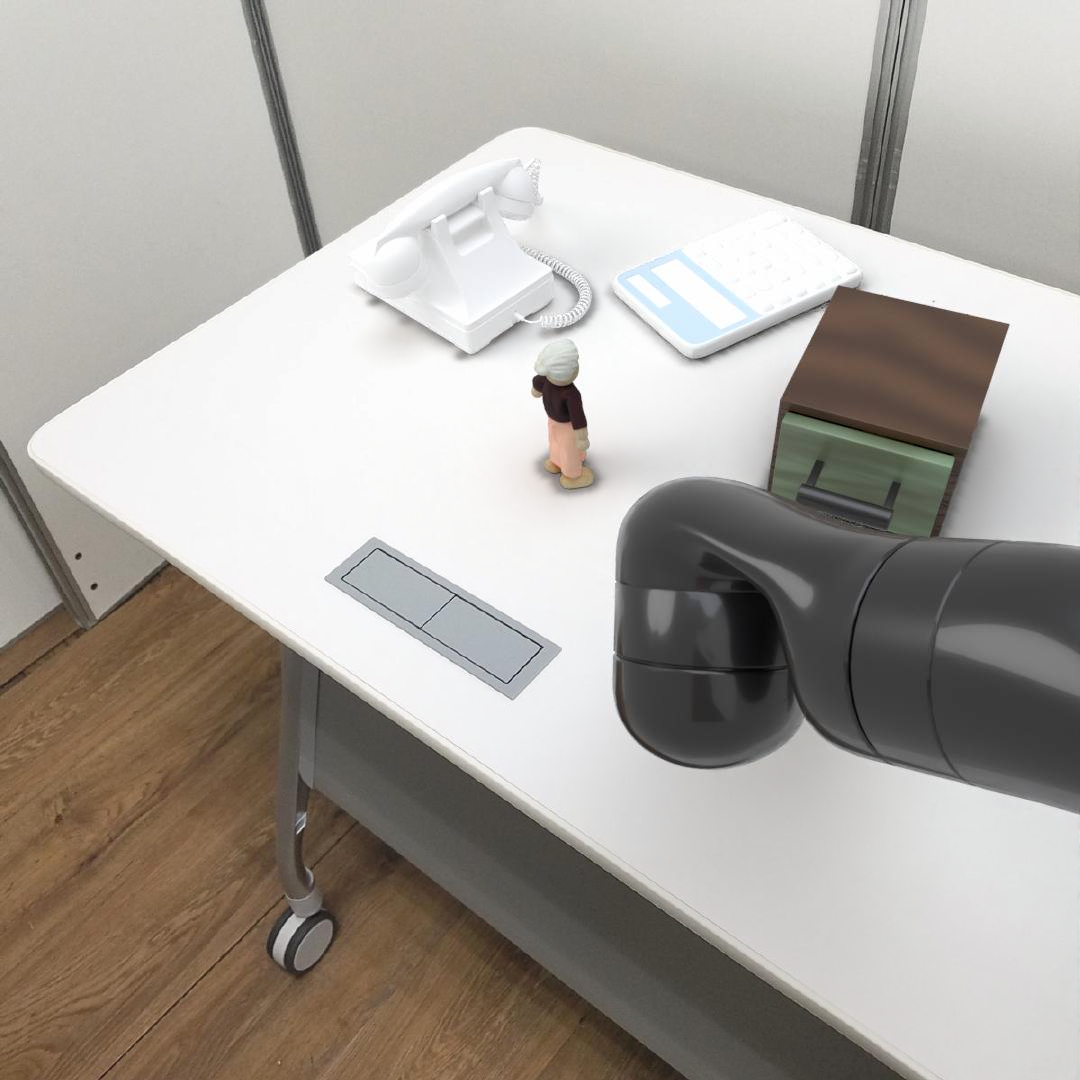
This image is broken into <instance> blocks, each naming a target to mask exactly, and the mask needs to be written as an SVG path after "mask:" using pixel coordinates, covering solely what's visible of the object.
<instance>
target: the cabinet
mask: <svg viewBox="0 0 1080 1080" xmlns="http://www.w3.org/2000/svg"><path fill="white" fill-rule="evenodd" d="M1009 328H1010V323H1007V322H1003V321H998V320H994V319H990V318H986V317H981V316H976V315H973V314H967V313H963V312H958V311H954V310H950V309H945V308H940V307H937V306H933V305H929V304H924V303H919V302H915V301H911V300H906V299H901V298H897V297H892V296H888V295H884V294H880V293H875V292H870V291H867V290H861V289H858V288H854V289H853V288H849V287H844V286H840V285H838V286H837V288H836V290H835V292H834V294H833V296H832V298H831V300H829V301H828V304H827V306H826V308H825V310H824V312H823V314H822V315H821V318H820V320H819V322H818V323H817V326H816V328H815V330H814V331H813V334H812V336H811V338H810V340H809V342H808V344H807V345H806V348H805V350H804V352H803V353H802V356H801V358H800V359H799V361H798V363H797V366H796V368H795V369H794V371H793V373H792V376H791V377H790V379H789V381H788V383H787V385H786V387H785V389H784V391H783V393H782V395H781V397H780V399H779V405H778V410H777V411H778V413H777V418H776V425H775V433H774V439H773V440H774V441H773V446H772V453H771V460H770V466H769V472H768V473H769V474H768V479H767V488H766V490H768V491H771V490H772V483H773V476H774V470H775V463H776V457H777V450H778V443H779V437H780V430H781V424H782V420H783V418H784V416H785V414H786V412H790V413H794V414H798V415H800V413H801V414H805V415H809V416H813V417H816V418H820V419H824V420H827V421H831V422H835V423H839V424H842V425H846V426H850V427H854V428H857V429H861V430H865V431H868V432H872V433H876V434H880V435H883V436H887V437H891V438H894V439H898V440H902V441H906V442H909V443H913V444H917V445H920V446H924V447H928V448H932V449H935V450H939V451H943V452H947V453H948V455H950V456H954V457H955V461H954V464H953V467H952V470H951V473H950V476H949V479H948V482H947V485H946V488H945V492H944V495H943V498H942V501H941V504H940V507H939V510H938V513H937V516H936V519H935V522H934V525H933V528H932V532H931V535H930V537H940V535H941V532H942V529H943V526H944V523H945V519H946V516H947V514H948V511H949V508H950V505H951V502H952V499H953V496H954V493H955V491H956V488H957V484H958V482H959V481H958V480H959V478H960V476H961V472H962V469H963V466H964V463H965V460H966V457H967V453H968V451H969V448H970V445H971V442H972V439H973V436H974V433H975V431H976V430H975V429H976V427H977V423H978V422H979V418H980V414H981V413H982V409H983V406H984V403H985V399H986V398H987V394H988V391H989V388H990V386H991V382H992V379H993V376H994V373H995V370H996V367H997V364H998V361H999V358H1000V354H1001V352H1002V349H1003V346H1004V343H1005V340H1006V336H1007V334H1008V331H1009Z"/></svg>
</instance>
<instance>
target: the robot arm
mask: <svg viewBox="0 0 1080 1080" xmlns="http://www.w3.org/2000/svg"><path fill="white" fill-rule="evenodd" d="M614 565H615V571H614V572H615V573H614V577H615V578H614V580H615V583H614V606H613V607H614V614H613V647H612V648H613V649H612V650H613V652H614V653H613V654H612V672H611V675H612V678H611V685H612V688H611V689H612V697H613V703H614V707H615V710H616V711H615V712H616V714H617V716H618V719H619V720H620V722H621V724H622V726H623V727H624V729H625V731H626V732H627V733H628V735H629V736H630V737H631V738H632V739H633V740H634V741H635V742H636V743H637V744H638V746H639V747H641V748H642V749H643V750H645V751H646V752H648V753H649V754H650V755H653V757H654V756H655V757H656V758H657V759H659V760H663V761H664V762H667V763H669V764H672V765H674V766H678V767H682V768H686V769H692V770H703V771H718V770H719V771H720V770H728V769H735V768H738V767H742V766H747V765H750V764H752V763H756V762H757V761H760V760H763V759H764V758H766V757H769V756H770V755H772V754H773V753H775V752H777V751H778V750H779V749H781V748H782V747H783V746H784V745H786V744H787V743H788V742H789V741H790V740H791V739H792V738H793V737H794V736H795V735H796V733H797V732H798V731H799V729H800V728H801V726H802V724H803V723H804V720H805V719H806V721H807V723H808V724H809V725H810V727H811V728H812V729H813V730H814V732H816V734H817V735H818V736H819V737H821V738H822V739H823V740H824V741H825V742H827V743H828V744H830V745H831V746H833V747H835V748H836V749H839V750H841V751H843V752H846V753H848V754H850V755H853V756H855V757H858V758H862V759H865V760H868V761H873V762H877V763H881V764H885V765H889V766H893V767H897V768H901V769H905V770H909V771H912V772H917V773H921V774H924V775H928V776H932V777H936V778H940V779H944V780H948V781H951V782H955V783H960V784H963V785H967V786H970V787H975V788H979V789H982V790H986V791H990V792H992V793H993V792H994V793H998V794H1002V795H1005V796H1010V797H1014V798H1017V799H1022V800H1026V801H1030V802H1035V803H1038V804H1043V805H1046V806H1048V807H1052V808H1055V809H1059V810H1063V811H1066V812H1069V813H1072V814H1076V815H1079V816H1080V545H1074V544H1073V545H1072V544H1064V543H1057V542H1046V541H1045V542H1044V541H1029V540H1011V539H992V538H970V537H969V538H967V537H966V538H965V537H951V536H950V537H949V536H945V537H944V536H939V537H927V536H912V535H902V534H896V533H893V532H887V531H882V530H878V529H871V528H867V527H863V526H860V525H856V524H853V523H851V522H847V521H843V520H841V519H839V518H835V517H834V516H831V515H828V514H825V513H822V512H818V511H816V510H813V509H811V508H809V507H807V506H804V505H802V504H800V503H797V502H795V501H793V500H790V499H788V498H786V497H783V496H781V495H779V494H776V493H774V492H771V491H768V490H767V489H765V488H762V487H758V486H756V485H753V484H750V483H746V482H743V481H740V480H735V479H729V478H723V477H717V476H689V477H688V476H687V477H680V478H675V479H671V480H668V481H666V482H663V483H660V484H658V485H655V487H653V488H651V489H649V490H648V491H647V492H646V493H644V494H643V495H641V497H639V498H637V500H636V501H635V502H634V503H633V504H632V505H631V507H629V509H628V510H627V512H626V514H625V515H624V516H623V519H622V521H621V523H620V526H619V529H618V534H617V539H616V544H615V564H614Z"/></svg>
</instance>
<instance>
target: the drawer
mask: <svg viewBox="0 0 1080 1080" xmlns="http://www.w3.org/2000/svg"><path fill="white" fill-rule="evenodd" d="M851 428H852V427H850V426H846V425H842V424H839V423H835V422H831V421H827V420H824V419H820V418H816V417H813V416H809V415H805V414H801V413H800V415H798V414H794V413H790V412H786V414H785V416H784V418H783V420H782V424H781V430H780V437H779V443H778V450H777V457H776V463H775V470H774V476H773V483H772V490H771V492H774V493H776V494H779V495H781V496H783V497H786V498H788V499H790V500H793V501H795V502H797V503H800V504H802V505H804V506H807V507H809V508H811V509H813V510H816V511H818V512H820V513H822V514H825V515H828V516H831V517H834V518H835V517H836V518H838V519H843V520H845V521H849V522H853V523H855V524H859V525H863V526H866V527H869V528H873V529H875V530H878V531H881V532H889V533H893V534H902V535H912V536H927V537H930V535H931V532H932V528H933V525H934V522H935V519H936V516H937V513H938V510H939V507H940V504H941V501H942V498H943V495H944V492H945V488H946V485H947V482H948V479H949V476H950V473H951V470H952V467H953V464H954V461H955V457H954V456H950V455H948V453H947V452H943V451H939V450H935V449H932V448H928V447H924V446H920V445H917V444H914V445H909V444H905V443H902V442H898V441H894V440H891V439H887V438H883V437H879V436H876V435H872V434H868V433H865V432H861V431H857V430H853V429H851Z"/></svg>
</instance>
